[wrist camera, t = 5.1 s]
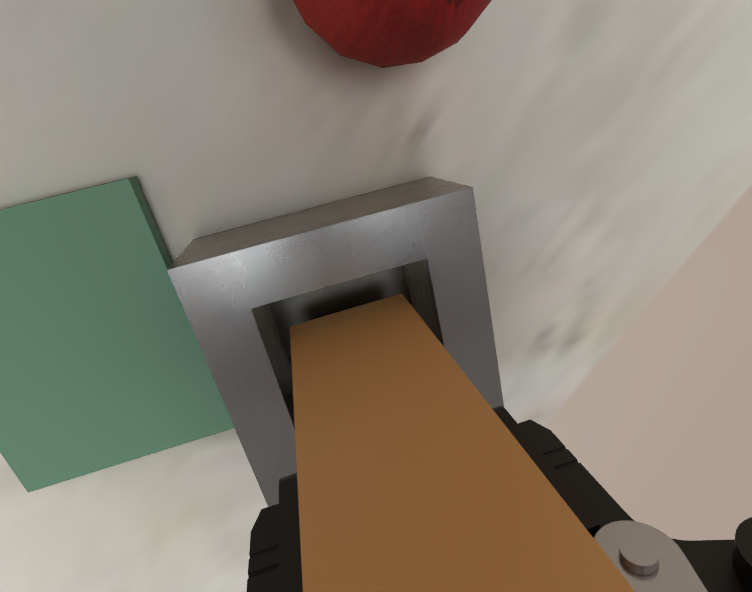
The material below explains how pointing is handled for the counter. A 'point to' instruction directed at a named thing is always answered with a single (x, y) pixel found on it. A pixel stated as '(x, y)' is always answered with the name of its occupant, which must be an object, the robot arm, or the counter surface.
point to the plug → (419, 471)
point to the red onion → (390, 27)
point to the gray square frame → (323, 269)
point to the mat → (94, 339)
